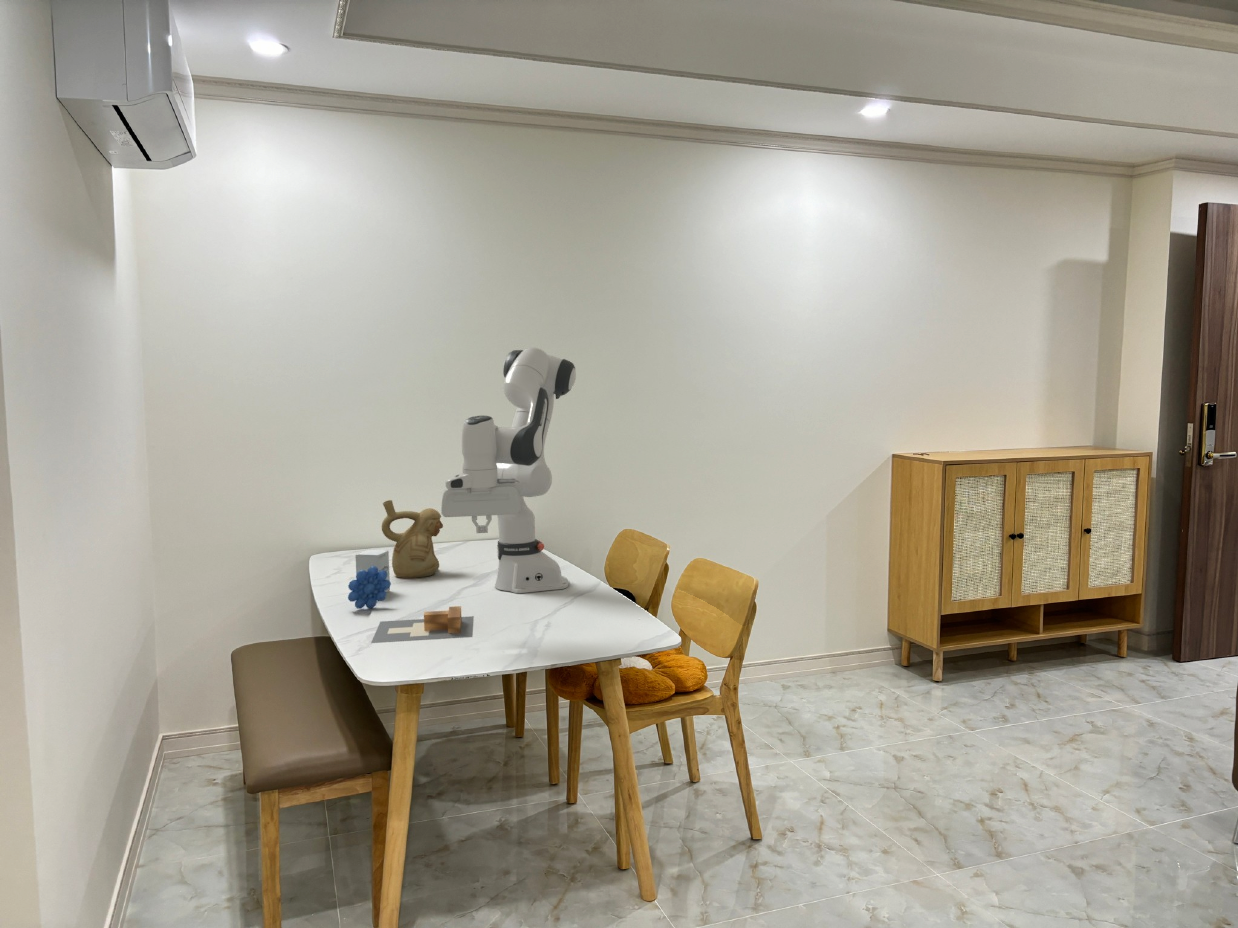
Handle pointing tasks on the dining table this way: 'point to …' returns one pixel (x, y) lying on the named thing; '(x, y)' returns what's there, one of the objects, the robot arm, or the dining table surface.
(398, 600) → the dining table surface
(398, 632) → the push board
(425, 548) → the ceramic vessel
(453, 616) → the t block
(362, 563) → the supplement box
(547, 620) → the dining table surface
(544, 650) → the dining table surface
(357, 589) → the blue lumpy cluster
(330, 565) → the dining table surface
